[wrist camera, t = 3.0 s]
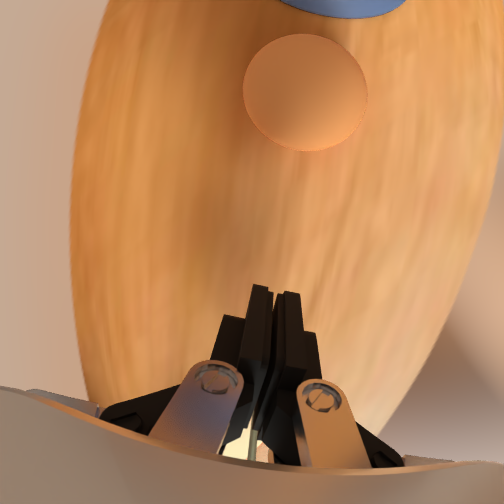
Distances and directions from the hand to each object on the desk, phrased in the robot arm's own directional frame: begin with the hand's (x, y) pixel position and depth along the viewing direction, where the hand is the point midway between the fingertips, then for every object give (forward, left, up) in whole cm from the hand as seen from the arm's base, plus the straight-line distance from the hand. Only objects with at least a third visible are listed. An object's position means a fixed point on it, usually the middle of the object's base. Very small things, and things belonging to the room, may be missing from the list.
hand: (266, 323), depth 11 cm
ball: (+5, +8, -6) cm, 11 cm away
